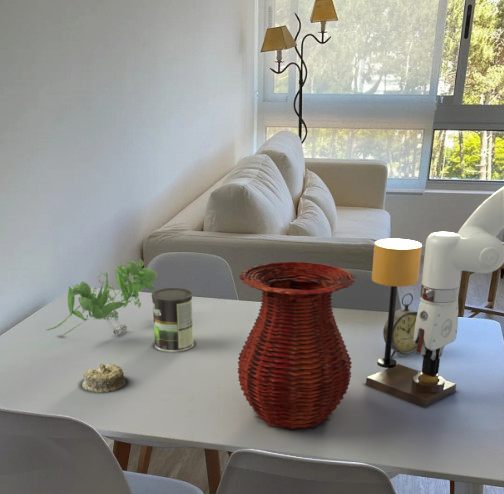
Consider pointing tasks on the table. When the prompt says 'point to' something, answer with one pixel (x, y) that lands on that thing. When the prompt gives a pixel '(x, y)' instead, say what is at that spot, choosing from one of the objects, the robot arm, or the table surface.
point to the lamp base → (410, 385)
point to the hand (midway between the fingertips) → (429, 373)
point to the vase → (295, 345)
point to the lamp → (395, 278)
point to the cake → (104, 379)
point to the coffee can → (173, 319)
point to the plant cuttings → (96, 304)
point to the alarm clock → (403, 330)
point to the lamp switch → (428, 378)
